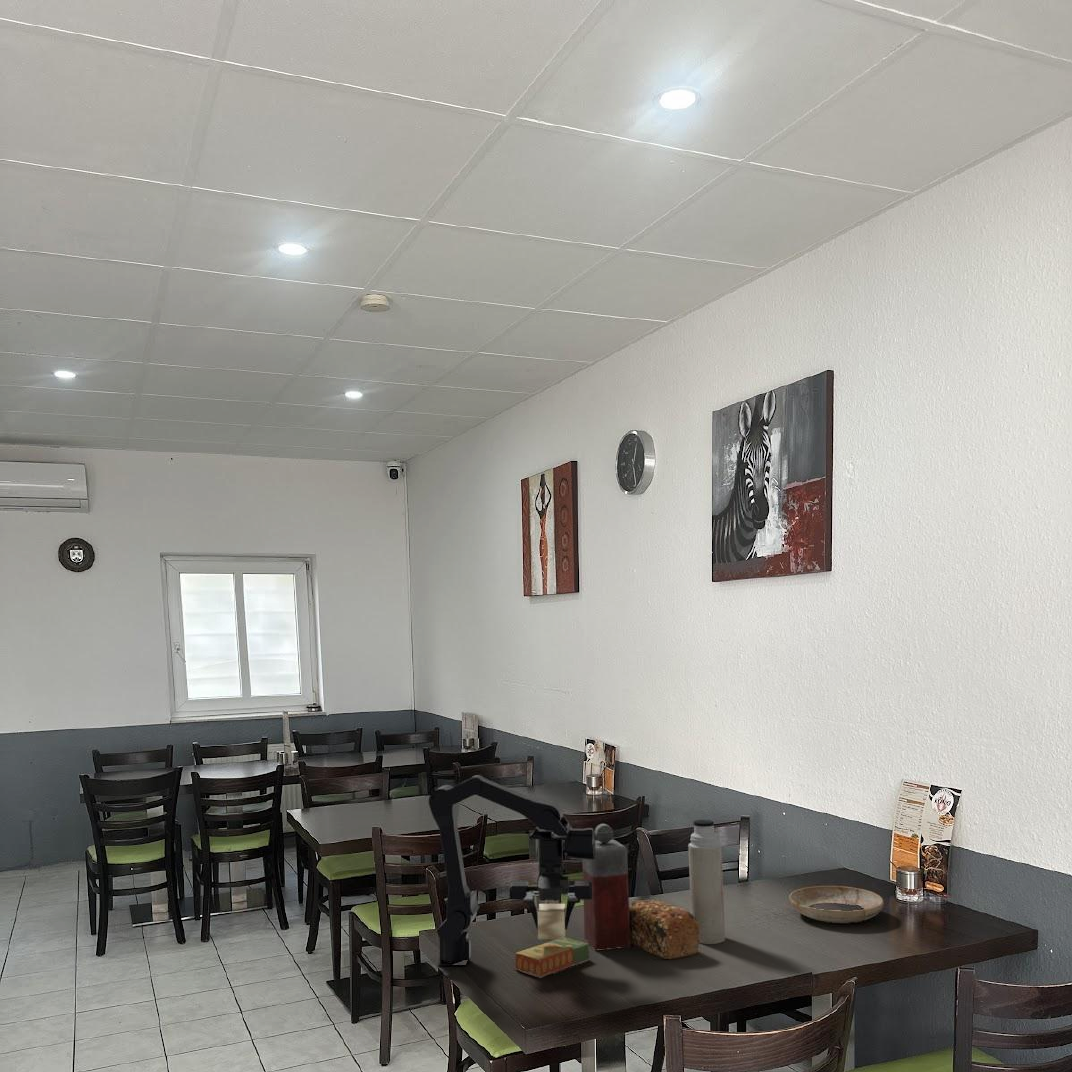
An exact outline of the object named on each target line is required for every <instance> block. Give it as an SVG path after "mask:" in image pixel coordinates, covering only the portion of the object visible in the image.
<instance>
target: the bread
mask: <svg viewBox="0 0 1072 1072" xmlns="http://www.w3.org/2000/svg"><path fill="white" fill-rule="evenodd" d="M629 922H630V944H631V943H632V945H633V944H634V946H635V945H636V946H635V947H637V948H639V949H641V948H642V950H643V949H644V950H643V951H645V950H646V952H647V953H650V954H651V955H654V956H655V955H656V956H655V957H658V958H660V959H661V958H663V959H664V960H673V959H680V958H683V957H688V956H694V955H697V953H698V951H699V944H701V943H700V941H699V931H700V928H699V925H698V922H697V918H696V917H695V916H693V915H692V914H691V911H688V910H686V909H684V908H682V907H678V906H676V905H675V904H674V905H673V904H671V903H665V902H663V901H660V900H657V899H644V900H641V899H640V900H636V901H632V902H631V904H629Z"/></svg>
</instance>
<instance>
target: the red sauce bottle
mask: <svg viewBox="0 0 1072 1072" xmlns="http://www.w3.org/2000/svg"><path fill="white" fill-rule="evenodd" d="M593 833H594V838H595V839H596V840H594V841H595V859H581V861H582V881H590V882H591V883H592V899H589V900H583V925H584V926H583V928H584V929H583V930H584V940H585V939H586V940H587V941H588V943H589V944H590V945H591V946H592V947H593V948H594V949H595V950H597V949H607V948H617V947H628V948H631V943H630V922H629V906H630V901H629V900H630V898H629V896H630V894H629V867H628V848H627V847H626V846H625V845H624V844H621V843H620V842H619V841H617V840H615V839H613V837H614V830H613V828H612V827H611V826H609V824H606V823H600V824H598V825H596V827H595V829H594V831H593ZM590 945H589V946H590ZM591 946H590V947H591ZM592 947H591V948H592ZM593 948H592V949H593ZM594 949H593V950H594Z"/></svg>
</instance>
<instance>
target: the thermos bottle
mask: <svg viewBox="0 0 1072 1072" xmlns="http://www.w3.org/2000/svg"><path fill="white" fill-rule="evenodd" d="M693 825H694V827H693V831H694V832H692V833H691V835H690V839H689V840H690V843H688V869H689V871H688V872H689V893H690V895H689V896H690V913H691V914H692V915H693V916H695V917H696V918H697V922H698V925H699V928H700V931H699V941H700V943H699V944H704V945H705V944H706V945H716V944H720V943H723V942H725V941H726V928H725V927H726V926H725V925H726V923H725V903H724V902H725V901H724V880H723V878H724V876H723V857H722V855H723V854H722V853H723V851H722V844H721V843H719V839H720V838H719V834H717V833H716V832H715V827H714V821H713V820H710V819H696V820H694V821H693Z"/></svg>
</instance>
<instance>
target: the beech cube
mask: <svg viewBox="0 0 1072 1072" xmlns="http://www.w3.org/2000/svg"><path fill="white" fill-rule="evenodd" d="M537 908H538V930H537V939H538V940H557V939H565V937H566V932H567V931H566V930H565V917H566V903H539V904H538V906H537Z"/></svg>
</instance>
